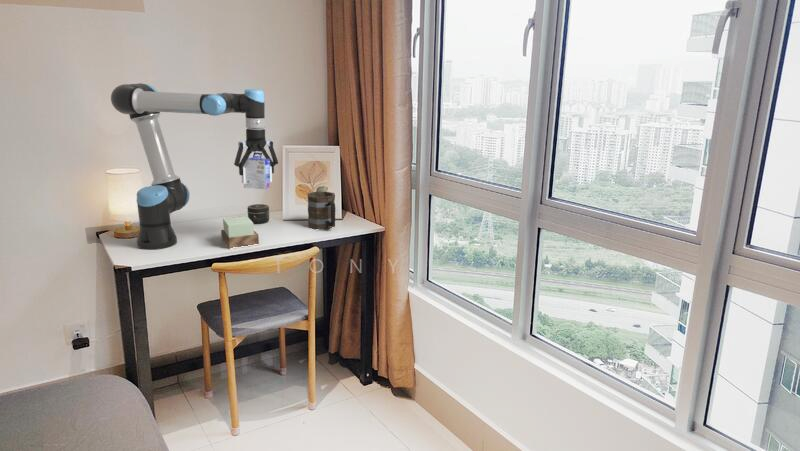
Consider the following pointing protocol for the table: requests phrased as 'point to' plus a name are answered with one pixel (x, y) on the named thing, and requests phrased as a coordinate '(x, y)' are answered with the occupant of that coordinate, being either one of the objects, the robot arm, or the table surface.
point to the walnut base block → (239, 240)
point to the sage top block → (238, 226)
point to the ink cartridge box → (257, 172)
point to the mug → (321, 210)
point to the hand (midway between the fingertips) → (257, 182)
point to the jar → (258, 213)
